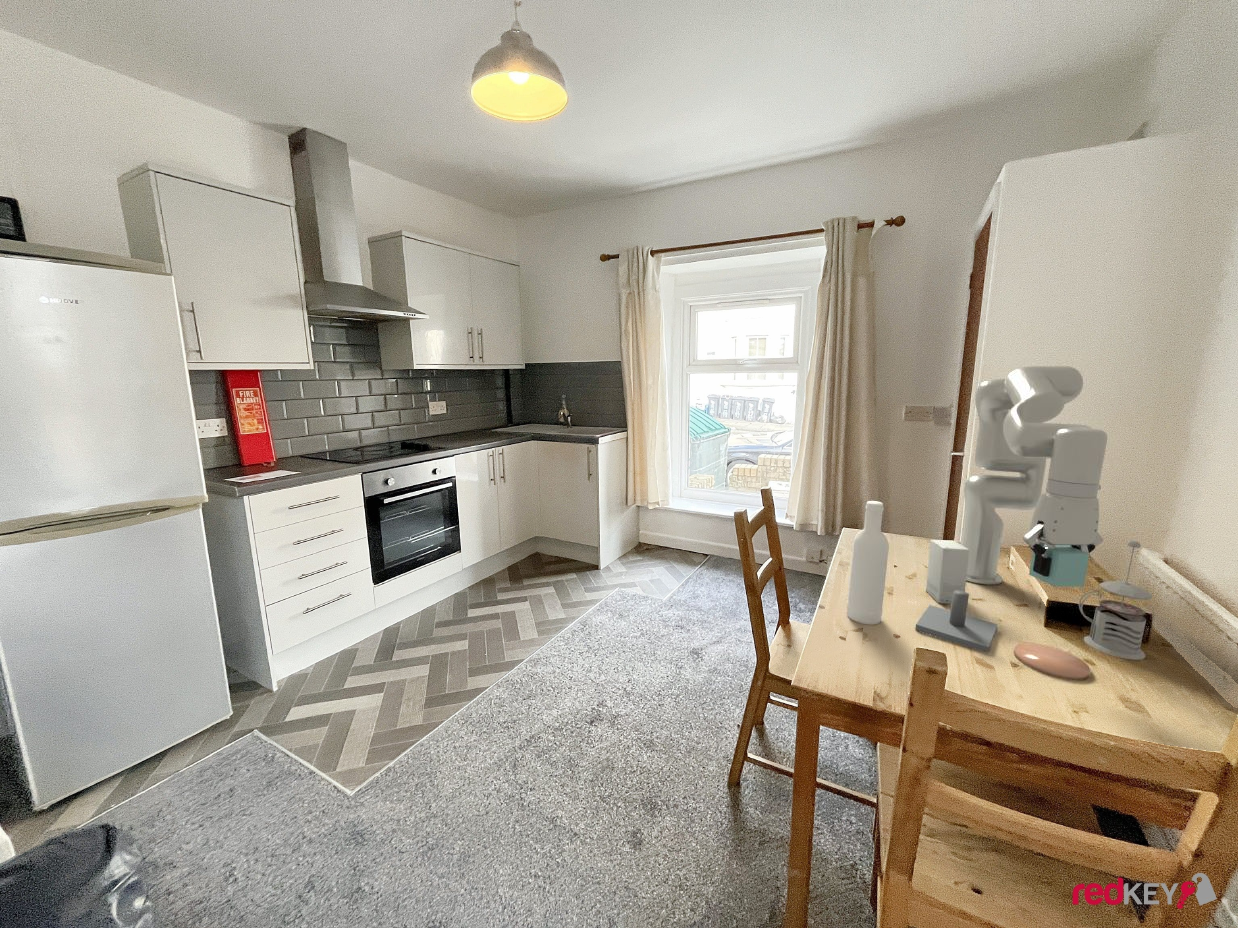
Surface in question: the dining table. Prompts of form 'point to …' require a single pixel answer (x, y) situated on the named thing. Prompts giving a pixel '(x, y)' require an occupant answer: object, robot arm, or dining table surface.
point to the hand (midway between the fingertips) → (1056, 573)
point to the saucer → (1052, 661)
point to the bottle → (868, 568)
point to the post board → (956, 634)
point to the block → (1064, 567)
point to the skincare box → (946, 569)
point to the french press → (1118, 619)
